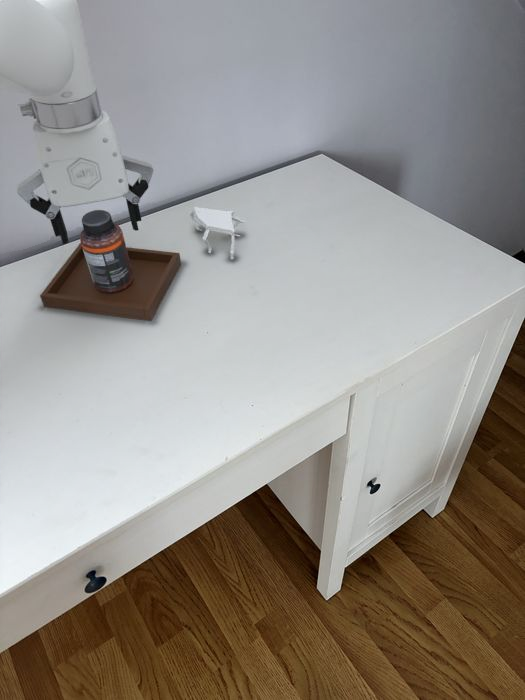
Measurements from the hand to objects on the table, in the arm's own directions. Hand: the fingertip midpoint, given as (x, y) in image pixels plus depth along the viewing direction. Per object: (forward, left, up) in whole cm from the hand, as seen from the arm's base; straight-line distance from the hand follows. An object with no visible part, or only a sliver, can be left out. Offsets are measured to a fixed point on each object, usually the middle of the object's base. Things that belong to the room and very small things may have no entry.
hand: (100, 232), depth 79 cm
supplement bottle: (0, 0, -9) cm, 9 cm away
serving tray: (0, 0, -10) cm, 10 cm away
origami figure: (+12, +14, -10) cm, 21 cm away
